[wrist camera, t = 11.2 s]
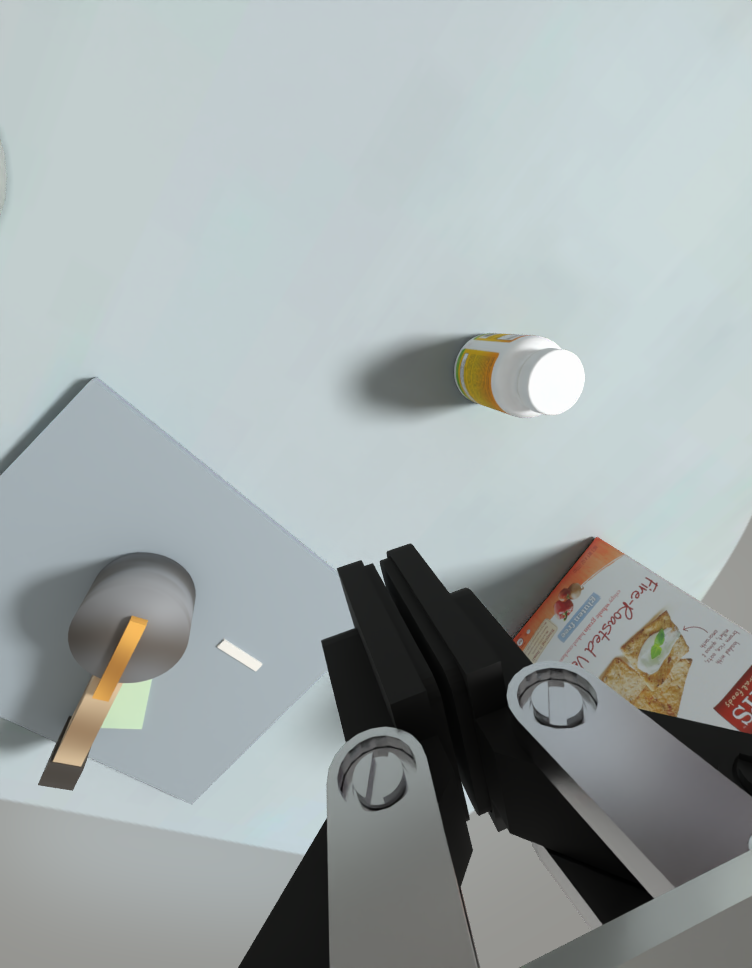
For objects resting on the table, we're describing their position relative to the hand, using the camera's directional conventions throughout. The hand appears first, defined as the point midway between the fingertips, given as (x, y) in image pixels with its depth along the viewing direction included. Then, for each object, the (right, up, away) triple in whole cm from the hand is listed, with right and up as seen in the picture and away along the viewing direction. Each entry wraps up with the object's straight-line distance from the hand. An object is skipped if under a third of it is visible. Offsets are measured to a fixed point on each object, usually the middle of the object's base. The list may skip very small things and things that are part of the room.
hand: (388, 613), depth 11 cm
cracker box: (+18, -9, +38) cm, 43 cm away
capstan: (-19, -9, +26) cm, 34 cm away
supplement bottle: (+8, +12, +28) cm, 32 cm away
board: (-18, -8, +27) cm, 33 cm away
